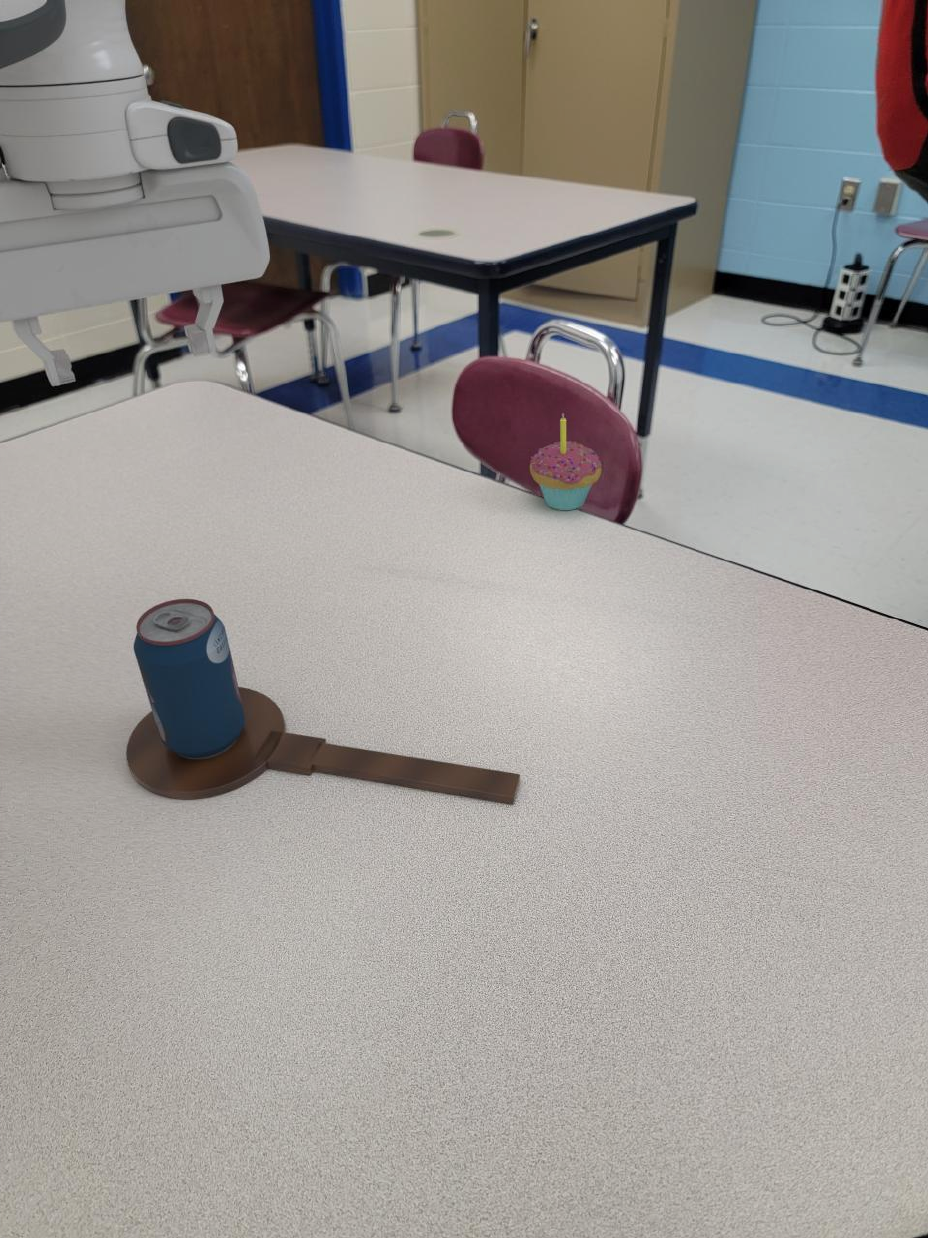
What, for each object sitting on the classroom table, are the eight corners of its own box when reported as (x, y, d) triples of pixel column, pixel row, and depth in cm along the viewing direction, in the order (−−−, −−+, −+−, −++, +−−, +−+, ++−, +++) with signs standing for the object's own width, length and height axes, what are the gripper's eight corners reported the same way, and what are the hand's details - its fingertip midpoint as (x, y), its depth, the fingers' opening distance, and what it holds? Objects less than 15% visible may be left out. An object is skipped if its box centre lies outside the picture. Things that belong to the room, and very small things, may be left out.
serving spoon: (96, 785, 72) (94, 778, 72) (176, 683, 83) (174, 676, 82) (499, 857, 65) (499, 850, 65) (532, 736, 75) (532, 729, 75)
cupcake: (590, 522, 105) (596, 425, 98) (520, 512, 107) (520, 417, 100) (605, 489, 111) (612, 396, 104) (538, 480, 113) (540, 388, 106)
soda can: (264, 723, 77) (240, 607, 70) (209, 776, 72) (177, 657, 65) (201, 699, 79) (172, 585, 72) (145, 749, 74) (107, 631, 67)
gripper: (-117, 163, 46) (-25, 417, 54) (260, 124, 55) (291, 350, 63) (-124, 148, 51) (-38, 385, 59) (226, 115, 59) (259, 326, 67)
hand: (134, 366), depth 61 cm, fingers open, 8 cm apart
